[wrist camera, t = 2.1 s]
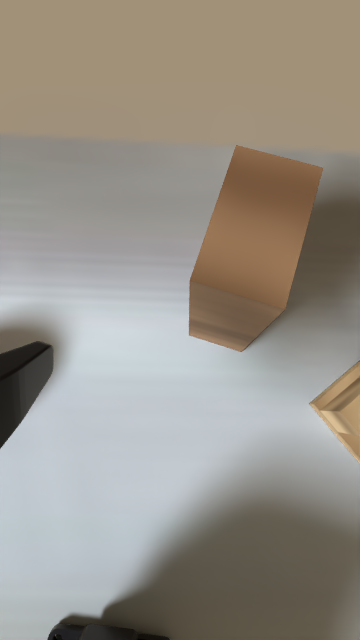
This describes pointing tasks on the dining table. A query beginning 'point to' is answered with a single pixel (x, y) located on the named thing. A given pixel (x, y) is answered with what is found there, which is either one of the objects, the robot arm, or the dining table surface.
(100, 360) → the dining table surface
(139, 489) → the dining table surface
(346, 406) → the oak base
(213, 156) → the dining table surface
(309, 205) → the brown cardboard box
